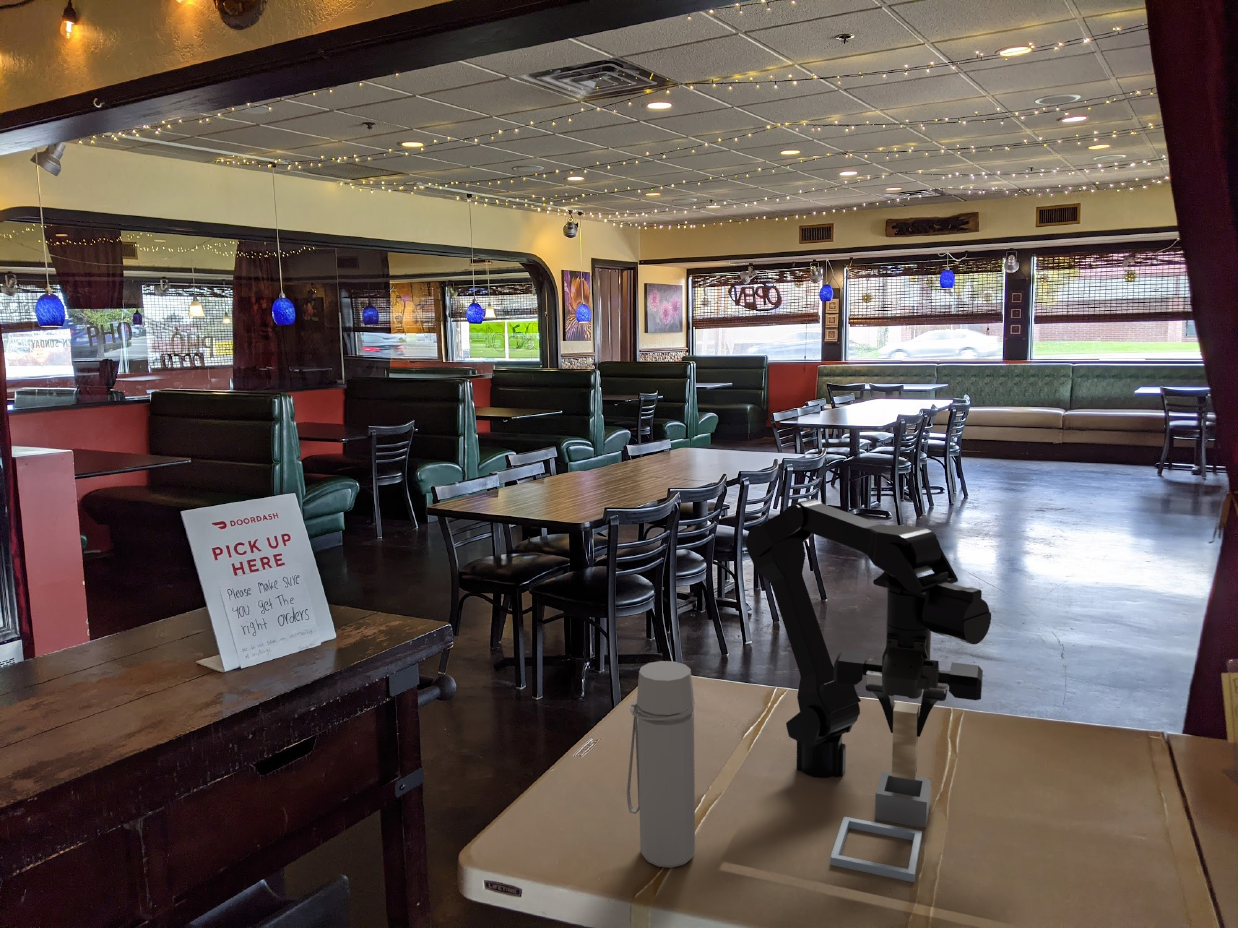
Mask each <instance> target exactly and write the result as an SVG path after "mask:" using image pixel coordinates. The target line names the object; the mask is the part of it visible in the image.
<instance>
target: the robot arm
mask: <svg viewBox="0 0 1238 928" xmlns="http://www.w3.org/2000/svg"><path fill="white" fill-rule="evenodd" d="M813 535H816V536H818V537H821V538H823V539H826V540H827V541H831V542H833V543H836V544H839V545H842V546H844V547H845V548H846V547H847V548H849V549H852V550H854V551H856V552H860V553H861V554H863V555H864V556H866V557H868V558H869V560H870V562H871V563H872V564H873V566H875V567H877V568H879V569H880V570H881V571H883V572H882V573H881V575H879V576H877V577H876V578H875V579H873V580H872V583H873V585H875V586H878V587H881V588H885V589H886V616H885V618H886V620H885V621H886V622H885V648H884V651H883V654H882V658H881V659H882V660H881V661H882V662H878V661H870V660H869V659H870V656H869V652H866V651H857V650H850V649H849V650H847V649H843V650H842V651H840V652H839V653H838V656H837V658H836V659H835V661H834V664H833V662H832V660H831V657H830V654H829V650H828V647H827V644H826V642H825V639H824V636H823V633H822V630H821V627H820V626H821V625H820V624H819V620H818V618H817V615H816V611H815V609H814V607H813V603H812V600H811V597H810V594H809V591H808V587H807V586H806V582H805V579H804V575H803V570H804V566H805V559H806V549H805V544H804V543H805V542H806V541H807V540H808V539H809V538H811V537H812V536H813ZM745 548H746V550H747V553H748V555H749V558H750V560H751V562H752V564H753V567H754V569H755V570H756V571H757V572H758V573H759V574H760V575H761V576H762V577H763V578H764V579H765V580H767V582H768V583H769V584H770V586H771V589H772V593H773V594H774V598H775V601H776V605H777V607H778V610H779V613H780V616H781V619H782V622H783V626H784V628H785V632H786V635H787V638H788V640H789V641H788V642H789V644H790V648H791V649H792V653H793V655H794V656H793V657H794V659H795V663H796V666H797V668H798V672H799V675H800V679H799V683H798V684H799V685H798V690H797V704H798V708H799V712H798V713H796V714H795V715H794V716H793V717H792V718H790V719H789V720H788V721H786V723H785V726H786V730H787V735H788V737H789V738H791V739H793V740H795V741H796V771H799V772H802V773H803V774H804V775H806V776H810V777H811V778H818V779H827V778H828V779H829V778H840V777H841V778H842V777H843V776H844V773H845V772H846V766H847V765H846V762H847V761H846V759H847V758H846V756H847V755H846V754H847V752H846V751H847V744H845V743H843V735H844V734H846V733H847V734H848V733H850V732H851V731H852V728H853V725H855V723H857V721H858V718H859V716H860V715H861V709H860V703H861V702H862V700H861V698H860V697H859V695H858V692H857V690H856V687H855V686H857V685H858V684H859V683H860V682H862V681H863V680H864V679H863V678H864V676H865V679H866V685H865V691H867V692H870V693H872V694H874V695H875V696H876V698H877V699H878V701H879V703H880V705H881V708H882V711H883V713H884V716H885V719H886V722H887V725H888V728H889V731H890V733H891V734H893V710H894V707H895V696H898V697H907V698H908V699H910V700H911V699H912V700H913V699H914V700H915V699H919V698H920V697H921V701H920V702H921V703H920V706H919V718H918V723H917V737H918V738H920V737H921V734H922V733H923V730H924V727H925V725H926V722H927V720H928V718H929V715H930V713H931V711H932V710H933V707H934V706H935V704H936V703H937V702H944V701H947V697H948V692H949V693H950V694H951V695H952V696H953V697H954V698H955V699H962V700H969V701H970V700H971V701H979V700H981V699H982V692H983V691H982V690H983V676H984V675H983V669H982V668H981V667H980V665H976V664H970V663H961V662H960V663H958V662H953V661H952V662H951V664H950V670H948V669H940V666H939V665H940V664H939V660H933V659H931V647H932V646H931V643H932V642H931V641H932V633H934V634H936V635H937V634H938V635H941V636H943V637H947V638H951V639H953V640H956V641H960V642H963V643H966V644H970V645H978V644H979V643H981V642H982V641H983V640H984V639H985V638H986V636H987V635H988V632H989V629H990V627H991V622H992V613H991V611H990V608H989V605H988V603H987V602H986V600H984V599H983V598H982V595H983V594H982V592H983V591H982V590H981V589H980V588H977V587H976V588H975V587H967V586H963V585H958V584H956V583H958V582H959V578H958V576H957V574H956V573H955V571H954V569H953V567H952V565H951V564H950V561H949V560H948V558H947V557H946V555H945V553H944V551H943V549H942V547H941V544H940V542H939V540H938V538H937V534H935V533H934V531H932V530H930V529H929V528H926V527H925V528H924V527H920V526H919V527H918V526H911V525H900V524H897V525H896V524H895V525H893V524H882V523H878V522H876V521H873V520H870V519H869V518H868V519H867V518H865V517H863V516H859V515H856V514H853V513H849V512H847V511H844V510H841V509H839V508H836V507H834V506H830V505H827V504H824V503H823V502H822V501H820V500H817V499H813V498H811V499H806V500H801V501H796V502H794V503H791V504H790V506H788V507H787V508H785V510H783V511H782V512H779V513H777V515H775V516H773V517H772V518H770V519H768V520H766V521H765V522H763V523H762V524H758V525H754V526H752V527H751V528H750V529H749V531H748V533H747V536H746V538H745ZM928 571H932V572H933V573H930V574H926V575H923V576H919V577H918V574H921V573H925V572H928Z"/></svg>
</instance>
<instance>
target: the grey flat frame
mask: <svg viewBox="0 0 1238 928" xmlns="http://www.w3.org/2000/svg"><path fill="white" fill-rule="evenodd" d="M849 829H853V830H858V831H862V832H867V833H873V834H877V835H883V836H888V837H895V838H899V839H903V840H909V841H912V847H911V853H910V858H909V861H908V862H909V863H908V868H904V867H899V866H896V865H895V866H894V865H889V864H883V863H880V862H874V861H869V860H864V859H860V858H856V857H855V858H854V857H850V856H845V855H842V853H843V852H842V851H843V848H844V845H845V842H846V838H847V835H848V832H849ZM922 838H923V831H922V830H917V829H911V828H908V827H902V826H895V825H890V824H884V823H879V822H874V821H869V820H864V819H858V818H852V817H849V816H843V819H842V821H841V825H840V827H839V830H838V834H837V837H836V838H835V839H836V840H835V843H834V846H833V849H832V851H831V854H830V856H829V857H830V862H829V863H830V866H836V867H839V868H844V869H849V870H853V871H859V872H862V873H863V872H864V873H868V874H872V875H877V876H882V877H887V878H892V879H896V880H897V879H898V880H902V881H906V882H911V883H915V879H916V873H917V869H918V868H917V867H918V862H919V861H918V860H919V856H920V851H921V845H922Z"/></svg>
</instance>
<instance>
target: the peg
mask: <svg viewBox="0 0 1238 928" xmlns="http://www.w3.org/2000/svg"><path fill="white" fill-rule="evenodd" d="M894 705H895V707H894V710H893V733H892V752H891V754H892V755H891V757H892V761H891V763H892V764H891V772H892V777H898V778H904V779H910V780H915V778H916V777H917V773H918V755H919V754H918V753H919V751H918V749H919V737H917V723H918V718H919V712H920V704H916V703H909V702H901V701H896V702H895V703H894Z"/></svg>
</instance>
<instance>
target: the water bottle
mask: <svg viewBox="0 0 1238 928" xmlns="http://www.w3.org/2000/svg"><path fill="white" fill-rule="evenodd" d="M637 683H638V684H637V694H636V695H637V696H636V701H633V702H632V703H631V704H630V706H631V708H630V709H629V710H630V712H631V715H632V716H633V720H632V732H631V733H632V734H631V743H630V755H629V764H628V776H627V786H626V801H627V802H626V803H627V809H628V812H629V813H632V814H634V815H635V814H637V813H639V841H640V843H639V847H640V853H641V855H642V856H643V858H644V859H645V860H646V861H647V863H649V864H652V865H654V866H656V867H659V868H677V867H680V866H684V865H685V864H686V863H687V862H689V861H690V860H691V859H692V858H693V857H694V856H695V851H696V807H695V805H696V795H695V794H696V791H695V790H696V787H695V785H696V784H695V781H696V780H695V779H696V778H695V775H696V774H695V711H694V710H695V705H696V702H695V697H694V688H693V679H692V670H691V668H690V667H689V666H687V664H685V663H682V662H681V663H680V662H678V661H670V660H665V661H664V660H659V661H654V662H647V663H646V664H644V665H642V666H641V667H640V669H639V671H638V682H637ZM634 747H635V753H636V755H635V758H636V780H637V783H636V784H637V785H636V786H637V805H638V806H637V809H636V808H634V807H633V804H632V797H631V782H632V771H633V758H634Z"/></svg>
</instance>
